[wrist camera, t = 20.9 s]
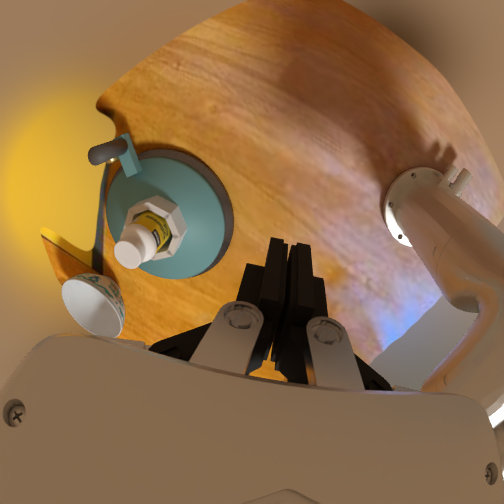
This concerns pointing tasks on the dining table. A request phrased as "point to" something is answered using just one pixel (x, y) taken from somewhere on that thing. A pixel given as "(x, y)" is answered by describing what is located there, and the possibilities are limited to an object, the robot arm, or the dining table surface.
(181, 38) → the dining table surface
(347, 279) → the dining table surface
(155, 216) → the supplement bottle
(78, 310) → the chinaware
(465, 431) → the robot arm
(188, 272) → the turntable
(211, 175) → the turntable base
